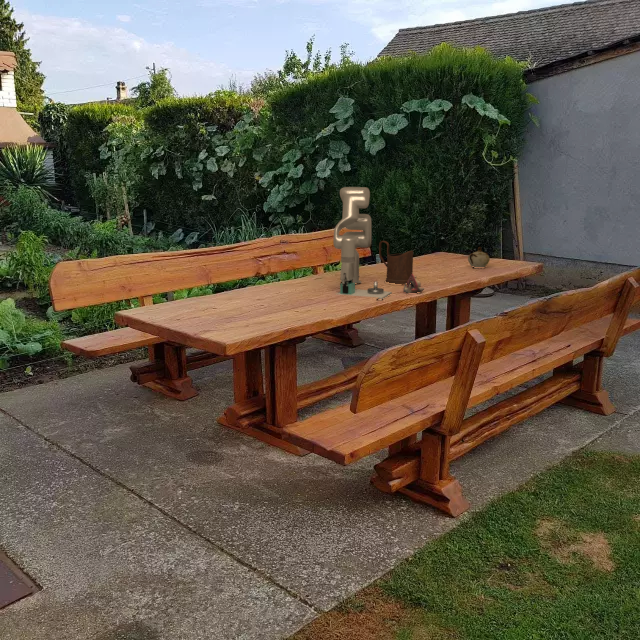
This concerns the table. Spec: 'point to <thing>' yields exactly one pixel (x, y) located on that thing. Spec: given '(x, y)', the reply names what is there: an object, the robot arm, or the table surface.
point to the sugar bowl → (478, 258)
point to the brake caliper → (412, 285)
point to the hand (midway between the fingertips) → (347, 291)
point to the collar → (350, 288)
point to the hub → (375, 289)
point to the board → (367, 294)
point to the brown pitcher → (398, 266)
